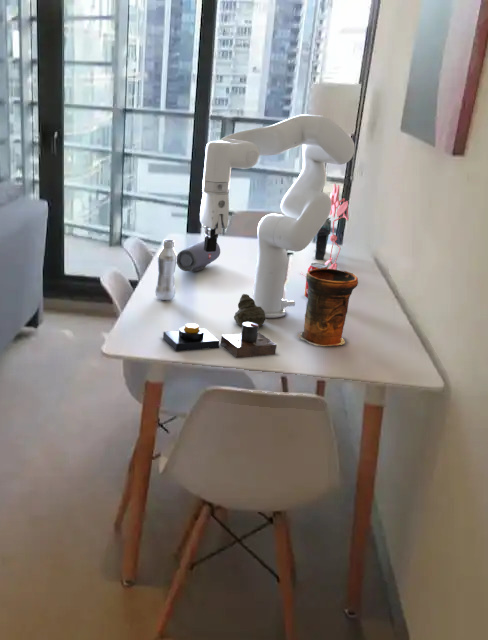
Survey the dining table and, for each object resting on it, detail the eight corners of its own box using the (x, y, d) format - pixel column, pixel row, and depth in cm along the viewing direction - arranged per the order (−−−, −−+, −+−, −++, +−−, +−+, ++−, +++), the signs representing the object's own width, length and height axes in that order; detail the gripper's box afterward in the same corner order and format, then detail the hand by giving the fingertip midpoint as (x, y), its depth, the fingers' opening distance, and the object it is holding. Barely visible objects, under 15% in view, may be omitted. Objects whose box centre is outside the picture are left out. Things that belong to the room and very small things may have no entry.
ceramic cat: (325, 261, 303) (333, 213, 295) (310, 259, 304) (317, 212, 296) (326, 251, 320) (334, 206, 312) (311, 249, 322) (318, 204, 314)
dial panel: (258, 342, 208) (259, 331, 207) (275, 354, 199) (276, 344, 198) (220, 345, 204) (221, 334, 203) (236, 357, 196) (237, 347, 194)
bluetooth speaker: (195, 276, 271) (198, 250, 267) (174, 272, 275) (176, 246, 272) (220, 265, 289) (223, 240, 285) (199, 261, 293) (201, 237, 289)
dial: (237, 339, 200) (239, 323, 198) (246, 335, 203) (248, 319, 202) (251, 343, 198) (253, 327, 196) (259, 339, 201) (261, 323, 199)
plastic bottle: (173, 303, 239) (177, 243, 231) (153, 301, 240) (157, 241, 232) (175, 297, 245) (180, 239, 237) (156, 295, 246) (160, 237, 238)
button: (195, 328, 206) (195, 322, 205) (200, 333, 202) (201, 327, 201) (182, 329, 204) (182, 323, 204) (187, 334, 201) (188, 328, 200)
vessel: (317, 351, 203) (328, 282, 195) (287, 334, 215) (296, 269, 207) (357, 345, 209) (369, 279, 201) (325, 329, 221) (336, 266, 213)
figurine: (333, 268, 293) (348, 180, 279) (345, 285, 269) (362, 190, 255) (295, 265, 294) (308, 177, 280) (304, 282, 270) (318, 187, 257)
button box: (204, 335, 211) (205, 323, 209) (218, 347, 202) (220, 334, 201) (163, 338, 207) (163, 325, 205) (175, 351, 198) (177, 337, 197)
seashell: (265, 299, 226) (233, 296, 227) (272, 288, 215) (238, 286, 215) (263, 334, 224) (231, 331, 225) (269, 325, 213) (235, 322, 213)
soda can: (299, 298, 251) (304, 264, 246) (309, 294, 256) (314, 261, 251) (318, 302, 247) (323, 268, 242) (327, 298, 252) (333, 265, 247)
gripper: (239, 191, 198) (232, 256, 205) (216, 183, 211) (210, 244, 218) (214, 191, 196) (208, 257, 203) (193, 183, 209) (188, 245, 216)
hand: (209, 250), depth 211 cm, fingers closed
